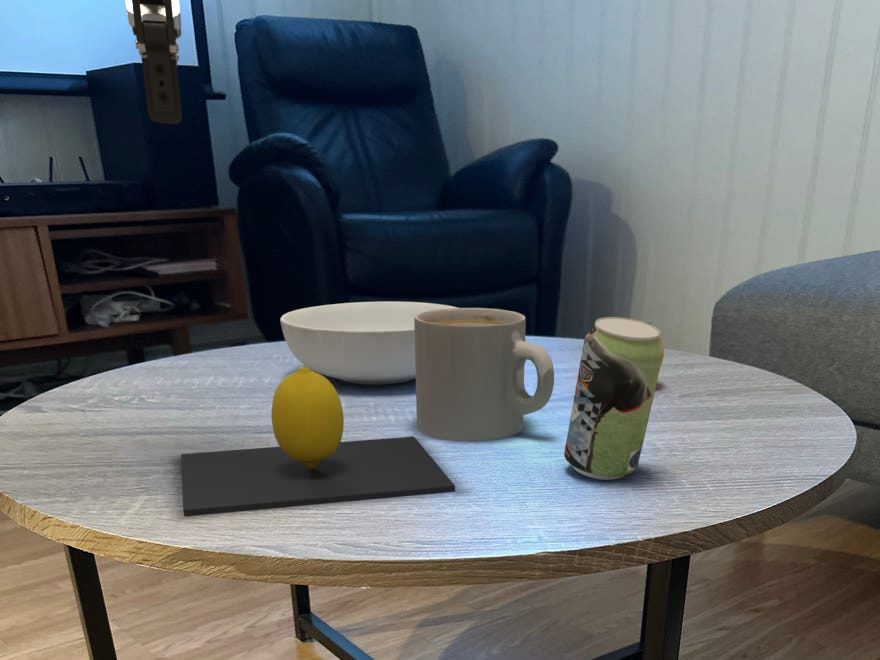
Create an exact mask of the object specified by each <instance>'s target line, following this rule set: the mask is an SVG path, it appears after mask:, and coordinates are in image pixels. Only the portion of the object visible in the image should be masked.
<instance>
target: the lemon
mask: <svg viewBox="0 0 880 660" xmlns="http://www.w3.org/2000/svg"><path fill="white" fill-rule="evenodd" d="M344 422H345V420H344V409H343V406H342V401H341V398H340V396H339V393H338V391H337V389H336V387H335V386H334V385H333V384H332V383H331V382H330V380H329V379H327V378H326V377H325V376H324V375H323V374H320V373H317V372H315V371H313V370H311V369H309V368H308V367H306V366H300V367H298V368H297V370H296V371H295V372H292V373H291V374H289V375H287V376H286V377H285V378H283V379H282V380H281V382H280V383H279V384H278V385H277V386H276V389H275V391H274V394H273V397H272V404H271V425H272V430H273V431H272V432H273V434H274V437H275V440H276V442H277V444H278V447H281V449H282V450H283V451H284V452H285V453H286V454H287V455H289V456H290V457H291V458H293V459H295V460H297V461H300V462H302V463H303V464H304V465H305V466H306V467H307V468H309V469H313V468H316V467H317V466H318V464H319V463H320V462H321V461H322V460H324V459H326V458H328V457H329V456H331V455H332V454H333V453H334V452H335V450H336V449H337V448H338V446H339V444H340V442H342V439H343V434H344V426H345V425H344V424H345V423H344Z"/></svg>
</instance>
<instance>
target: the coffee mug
mask: <svg viewBox="0 0 880 660" xmlns="http://www.w3.org/2000/svg"><path fill="white" fill-rule="evenodd" d="M526 319H527V318H526V316H525V315H524V314H522V313H520V312H517V311H511V310H508V309H507V310H506V309H499V308H487V307H457V308H448V309H438V310H430V311H425V312H421V313H419V314H417V315H416V316H415V317H414V330H415V369H416V378H415V396H416V397H415V405H416V429H417V431H418V432H419V433H421V434H423V435H425V436H428V437H431V438H435V439H438V440H444V441H452V442H487V441H489V442H490V441H495V440H501V439H506V438H510V437H513V436H516V435H518V434H519V433H520V432H521V431H522V430H523V428H524V416H526V415H530V414H532V413H536V412H538V411H540V410H541V409H543V408H544V407H545V406H547V404H548V403H549V401H550V399H551V397H552V395H553V392H554V391H553V390H554V385H555V368H554V363H553V360H552V357H551V356H550V354H549V352H548V351H547V350H546V349H545V348H544V347H542V346H540V345H538V344H535V343H532V342H527V341H526V329H527V328H526V325H527V324H526V323H527V321H526ZM527 361H531V363H532V364H533V365H534V367H535V370H536V378H537V380H536V381H537V383H536V388H535V392H534V394H533V395H530V394H529V393H528V392H527V390H526V387H525V365H526V362H527Z"/></svg>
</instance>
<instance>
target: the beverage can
mask: <svg viewBox="0 0 880 660" xmlns="http://www.w3.org/2000/svg"><path fill="white" fill-rule="evenodd" d="M645 322H646V321H641V320H637V319H632V318H627V317H620V316H619V317H618V316H617V317H616V316H608V317H600V318H597V319H596V320H595V321H594V327H593V328H592V329H591V330H590V331H589V332H588V333H587V334H586V336H585V337H584V341H583V345H582V350H581V357H580V362H579V368H578V372H577V373H578V374H577V378H576V383H575V384H576V385H575V390H574V396H573V402H572V407H571V414H570V418H569V424H568V430H567V434H566V435H567V436H566V441H565V447H564V452H563V455H564V456H563V457H564V459H565V460H566V462H568V463H569V465H571V466H572V468H573V469H574V471H576V472H578V473H579V474H581V475H583V476H585V477H589V478H591V479H595V480H603V481H609V480H617V479H620V478H624V477H625V476H627V475H631V474H632V473H634V472H636V471H637V469H638V467H639V462H640V460H641V459H640V458H641V454H642V449H643V446H644V442H645V441H644V440H645V436H646V432H647V428H648V423H649V418H650V414H651V410H652V406H653V403H654V402H653V401H654V396H655V392H656V388H657V384H658V380H659V375H660V370H661V367H662V365H661V362H662V358H663V359H664V357H663V350H664V345H663V343H662V344H661V341H662V340H661V341H660V339H661V338H660V339H659V337H660V336H661V330H659V328H658V327H656V326H654V325H653V324H652V325H653V326H652V325H650V324H648V323H645ZM662 345H663V346H662ZM662 363H663V362H662Z"/></svg>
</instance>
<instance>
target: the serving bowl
mask: <svg viewBox="0 0 880 660" xmlns="http://www.w3.org/2000/svg"><path fill="white" fill-rule="evenodd" d="M448 308H458V307H456V306H452V305H448V304H441V303H440V304H439V303H431V302H419V301H418V302H417V301H361V302H359V301H358V302H344V303H334V304H324V305H317V306H310V307H304V308H300V309H299V308H298V309H295V310H292V311H288V312H286V313H284V314H283V315H281V317H280V320H279V321H280V326H281V330H282V334H283V337H284V340H285V343H286V345H287V347H288V349H289V350H290V352H291V353H292V355H293V356H294V357H295V358H296V359H297V360H298V361H299V362H300V363H301V364H302V365H303V366H304V367H308V368H309V369H310V370H311V371H312V372H315V373H318V374H320V375H322V376H326V377H330V378H334V379H338V380H340V381H343V382H345V383H346V382H347V383H351V384H356V385H373V386H374V385H378V386H379V385H381V386H382V385H394V384H401V383H406V382H409V381H413V380H414V379H415V380H416V369H415V330H414V317H415V316H416V315H417V314H419V313H421V312H425V311H430V310H438V309H448Z"/></svg>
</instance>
